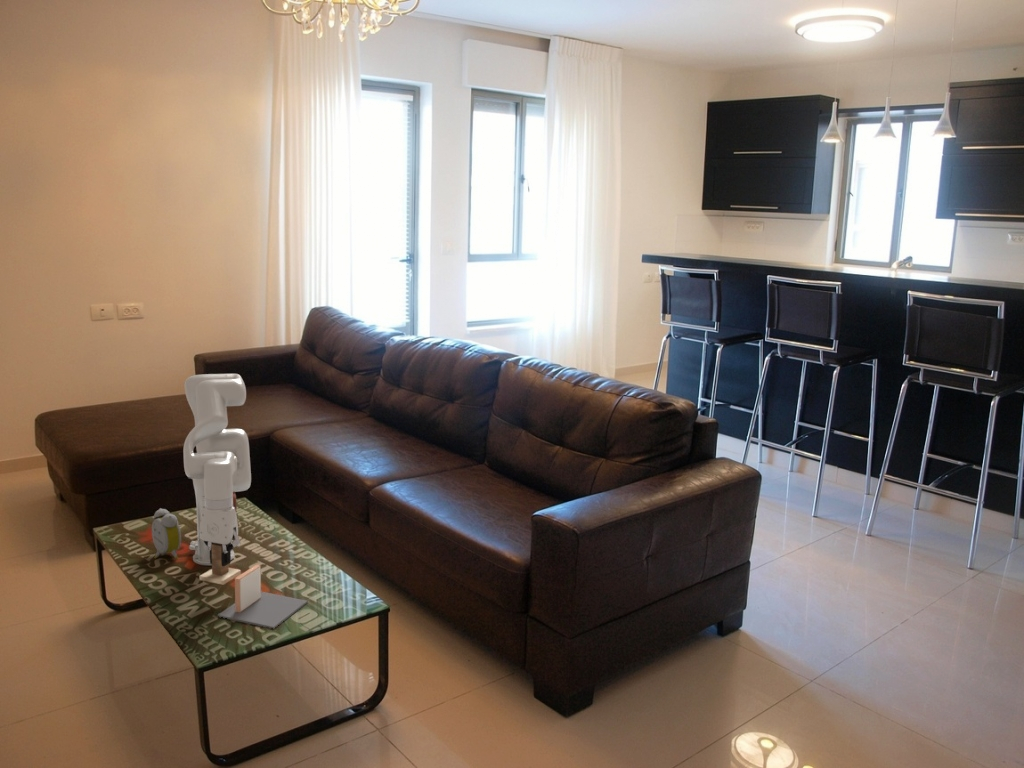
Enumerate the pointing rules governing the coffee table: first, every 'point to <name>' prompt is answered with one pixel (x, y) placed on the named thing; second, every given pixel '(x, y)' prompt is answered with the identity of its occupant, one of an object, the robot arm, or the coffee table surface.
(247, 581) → the tile
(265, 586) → the coffee table surface
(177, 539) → the alarm clock
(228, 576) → the square post stand
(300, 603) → the mat
